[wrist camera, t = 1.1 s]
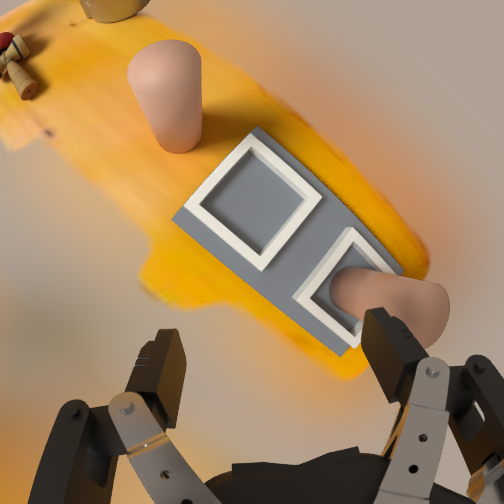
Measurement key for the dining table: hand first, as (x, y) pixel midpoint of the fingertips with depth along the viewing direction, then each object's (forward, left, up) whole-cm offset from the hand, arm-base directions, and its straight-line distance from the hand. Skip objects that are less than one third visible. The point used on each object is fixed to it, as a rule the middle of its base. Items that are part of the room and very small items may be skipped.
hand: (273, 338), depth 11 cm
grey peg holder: (+6, +5, -18) cm, 20 cm away
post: (-9, +14, -18) cm, 25 cm away
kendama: (-39, +22, -18) cm, 49 cm away
